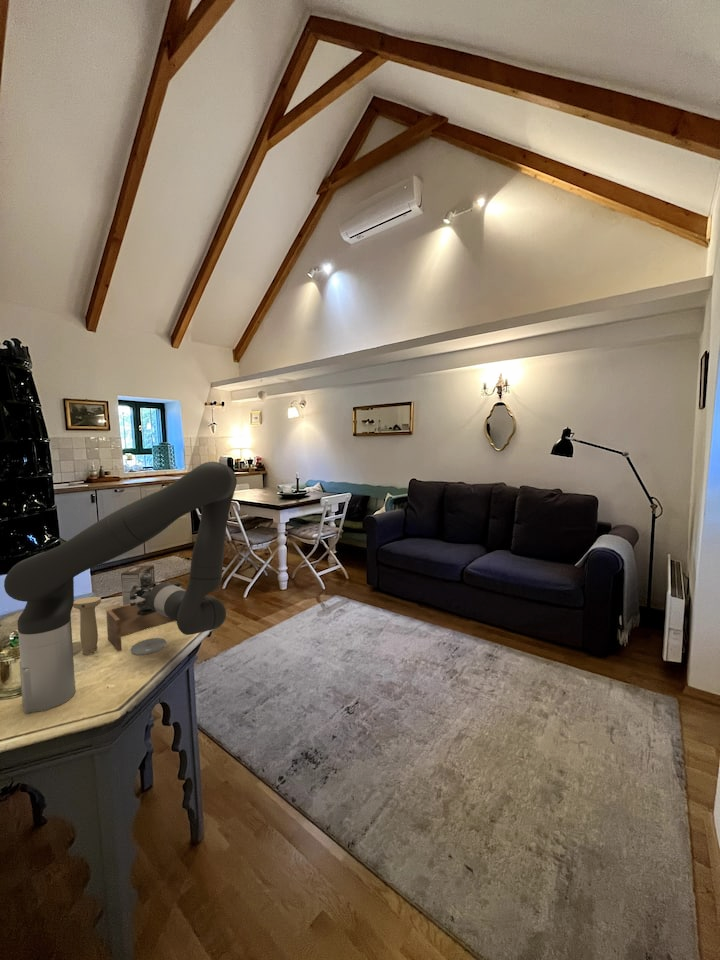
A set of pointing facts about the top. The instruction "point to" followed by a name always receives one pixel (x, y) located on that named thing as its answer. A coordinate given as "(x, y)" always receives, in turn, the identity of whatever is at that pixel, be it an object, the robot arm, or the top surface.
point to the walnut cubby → (129, 622)
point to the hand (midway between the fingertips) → (142, 586)
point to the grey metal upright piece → (144, 582)
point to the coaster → (148, 646)
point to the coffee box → (133, 580)
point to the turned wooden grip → (88, 623)
